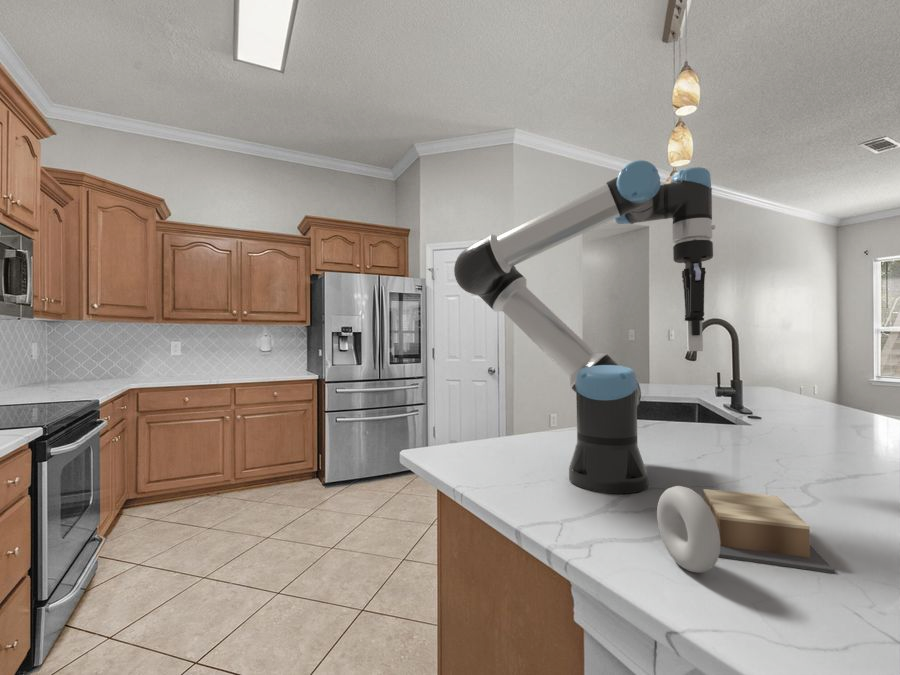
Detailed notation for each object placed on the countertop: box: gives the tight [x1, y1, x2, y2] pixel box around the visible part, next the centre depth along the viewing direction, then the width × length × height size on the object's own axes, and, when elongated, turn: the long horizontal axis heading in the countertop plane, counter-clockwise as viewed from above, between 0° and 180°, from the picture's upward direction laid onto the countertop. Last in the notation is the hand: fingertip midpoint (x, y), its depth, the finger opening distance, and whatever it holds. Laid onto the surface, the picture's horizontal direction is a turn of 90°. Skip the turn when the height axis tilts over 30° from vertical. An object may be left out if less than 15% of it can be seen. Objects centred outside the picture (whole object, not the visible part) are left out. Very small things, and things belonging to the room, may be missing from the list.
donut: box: [656, 485, 721, 573], centre depth 55 cm, size 10×4×10 cm, turn 5°
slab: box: [702, 488, 811, 558], centre depth 63 cm, size 10×4×12 cm
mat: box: [718, 544, 836, 574], centre depth 62 cm, size 13×14×1 cm
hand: (695, 351), depth 94 cm, fingers closed
